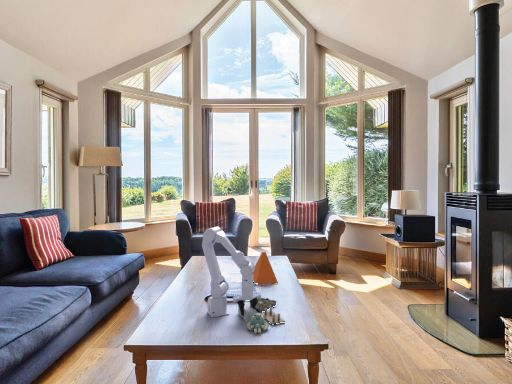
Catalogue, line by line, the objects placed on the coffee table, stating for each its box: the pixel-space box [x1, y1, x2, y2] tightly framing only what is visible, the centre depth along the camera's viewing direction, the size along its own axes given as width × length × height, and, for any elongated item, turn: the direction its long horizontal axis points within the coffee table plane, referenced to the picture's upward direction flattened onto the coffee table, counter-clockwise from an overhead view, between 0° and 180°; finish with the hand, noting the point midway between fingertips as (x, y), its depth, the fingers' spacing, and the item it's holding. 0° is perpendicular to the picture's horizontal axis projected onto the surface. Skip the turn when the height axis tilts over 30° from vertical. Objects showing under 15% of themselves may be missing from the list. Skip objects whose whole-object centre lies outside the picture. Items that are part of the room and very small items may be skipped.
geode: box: [255, 297, 277, 313], centre depth 179 cm, size 19×4×15 cm
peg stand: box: [259, 307, 286, 325], centre depth 162 cm, size 7×13×4 cm, turn 25°
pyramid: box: [253, 251, 279, 285], centre depth 223 cm, size 16×16×20 cm
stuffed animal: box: [245, 313, 270, 334], centre depth 151 cm, size 11×7×12 cm
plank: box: [237, 302, 257, 323], centre depth 164 cm, size 4×12×5 cm, turn 26°
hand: (247, 314), depth 164 cm, fingers closed on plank, 4 cm apart
